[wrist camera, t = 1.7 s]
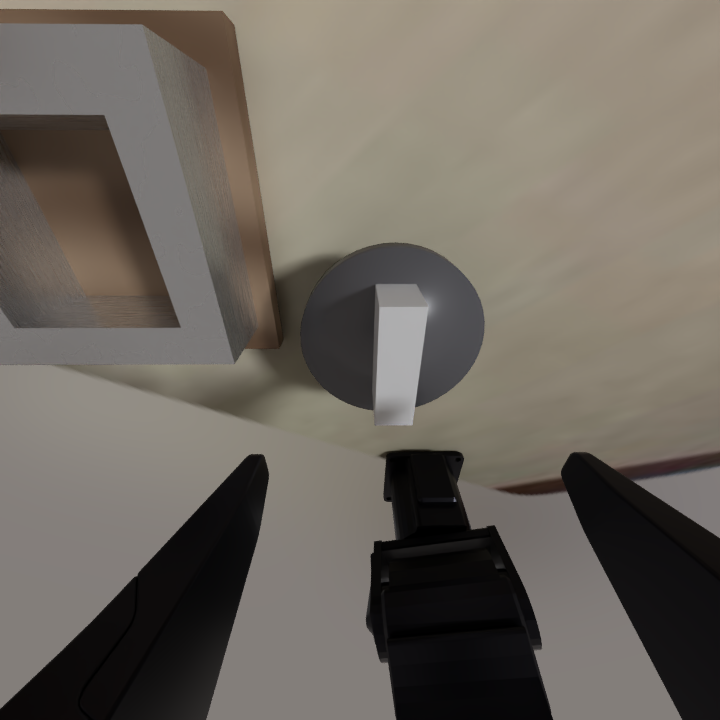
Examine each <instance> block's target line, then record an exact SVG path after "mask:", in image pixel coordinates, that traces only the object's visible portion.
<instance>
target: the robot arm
mask: <svg viewBox="0 0 720 720" xmlns="http://www.w3.org/2000/svg"><path fill="white" fill-rule="evenodd" d="M463 461H464V457H463V455H462V453H460V452H392V453H389V454H387V456H386V468H385V482H384V500H385V501H387V502H392V508H393V518H394V526H395V536H396V540H392V541H385V542H382V541H375V542H374V553H372V554H371V587H370V594H369V601H368V608H367V615H366V625H367V628H368V629H369V631H370V632H371V633H372V634H373V635H374V639H375V644H376V648H377V652H378V656H379V659H380V661H381V663H388V664H389V671H390V679H391V686H392V694H393V701H394V708H395V716H396V720H553V718H552V715H551V709H550V705H549V702H548V698H547V695H546V691H545V688H544V685H543V681H542V678H541V675H540V671H539V667H538V664H537V660H536V657H535V654H534V650H541V649H542V643H541V637H540V632H539V629H538V625H537V621H536V618H535V615H534V612H533V609H532V606H531V603H530V600H529V598H528V595H527V593H526V590H525V588H524V586H523V584H522V581H521V579H520V577H519V575H518V573H517V571H516V569H515V567H514V565H513V563H512V560H511V558H510V556H509V554H508V552H507V550H506V548H505V546H504V544H503V542H502V540H501V538H500V536H499V534H498V531H497V529H496V527H495V526H494V525H493V526H487V527H486V528H482V529H475V530H472V529H471V526H470V523H469V520H468V517H467V514H466V511H465V507H464V505H463V502H462V498H461V495H460V492H459V489H458V486H457V482H458V478H459V475H460V471H461V468H462V464H463ZM561 476H562V479H563V482H564V484H565V487H566V489H567V492H568V494H569V496H570V499H571V501H572V503H573V506H574V509H575V511H576V513H577V516H578V518H579V521H580V523H581V525H582V528H583V530H584V532H585V534H586V536H587V538H588V540H589V542H590V544H591V546H592V548H593V550H594V552H595V553H596V555H597V557H598V559H599V561H600V563H601V565H602V567H603V569H604V571H605V573H606V575H607V576H608V578H609V580H610V582H611V584H612V586H613V588H614V590H615V592H616V593H617V595H618V597H619V599H620V601H621V603H622V605H623V607H624V609H625V611H626V613H627V615H628V616H629V619H630V620H631V622H632V624H633V626H634V628H635V630H636V632H637V634H638V636H639V638H640V639H641V641H642V643H643V645H644V647H645V649H646V651H647V653H648V655H649V656H650V659H651V661H652V662H653V664H654V666H655V668H656V670H657V672H658V674H659V676H660V678H661V680H662V682H663V684H664V685H665V687H666V689H667V691H668V693H669V695H670V697H671V699H672V701H673V702H674V705H675V706H676V708H677V710H678V712H679V714H680V716H681V718H682V720H720V538H719V537H717V536H716V535H714V534H713V533H711V532H709V531H708V530H706V529H705V528H703V527H702V526H700V525H699V524H697V523H696V522H694V521H693V520H691V519H690V518H688V517H687V516H685V515H683V514H682V513H680V512H679V511H677V510H676V509H674V508H673V507H671V506H670V505H668V504H667V503H665V502H663V501H662V500H660V499H659V498H657V497H656V496H654V495H653V494H651V493H649V492H648V491H647V490H645V489H644V488H642V487H641V486H639V485H637V484H636V483H634V482H633V481H631V480H630V479H628V478H627V477H625V476H624V475H622V474H621V473H619V472H618V471H616V470H615V469H613V468H611V467H610V466H608V465H607V464H605V463H604V462H602V461H601V460H599V459H598V458H596V457H595V456H593V455H591V454H590V453H587V452H573V453H571V454H570V456H569V457H568V459H567V461H566V463H565V464H564V466H563V468H562V470H561ZM268 480H269V472H268V468H267V464H266V460H265V457H264V455H262V454H251V455H249V456H247V457H246V458H245V459H244V460H243V461H242V462H241V464H240V465H239V466H238V467H237V468H236V469H235V470H234V471H233V472H232V473H231V474H230V476H228V477H227V479H226V480H225V481H224V482H223V483H222V484H221V485H220V486H219V487H218V488H217V489H216V490H215V491H214V493H213V494H212V495H211V496H210V497H209V498H208V499H207V500H206V501H205V502H204V503H203V504H202V505H201V506H200V507H199V509H198V510H197V511H196V512H195V513H194V514H193V515H192V516H191V517H190V518H189V519H188V521H186V522H185V524H184V525H183V526H182V527H181V528H180V529H179V530H178V531H177V532H176V533H175V534H174V535H173V536H172V537H171V538H170V540H169V541H168V542H167V543H166V544H165V545H164V546H163V547H162V548H161V549H160V550H159V551H158V552H157V553H156V555H155V556H154V557H153V558H152V559H151V560H150V561H149V562H148V563H147V564H146V565H145V566H144V567H143V568H142V569H141V571H140V572H139V573H138V576H136V577H134V578H133V579H132V580H131V581H130V582H129V583H128V584H127V585H126V586H125V587H124V589H123V590H122V591H121V592H120V593H119V594H118V595H117V596H116V597H115V598H114V599H113V600H112V601H111V602H110V603H109V604H108V605H107V606H106V607H105V608H104V610H102V612H101V613H100V614H99V615H98V616H97V617H96V618H95V619H94V620H93V621H92V622H91V623H90V624H89V625H88V626H87V627H86V628H85V629H84V630H83V631H82V632H80V633H79V634H78V635H77V636H76V637H75V638H74V639H73V640H72V641H71V642H70V643H69V644H68V645H67V646H66V647H65V648H64V649H63V650H62V651H61V652H60V653H59V654H58V655H57V656H56V657H55V658H54V659H53V660H51V662H49V663H48V664H47V665H46V666H45V667H44V668H43V669H42V670H41V671H40V672H39V673H38V674H37V675H36V676H35V677H33V678H32V679H31V680H30V682H28V683H27V684H26V685H25V686H24V687H23V688H22V689H21V690H20V691H19V692H18V693H17V694H16V695H15V696H14V697H12V698H11V699H10V700H9V701H8V702H7V703H6V704H5V705H4V706H3V707H2V708H1V709H0V720H206V718H207V715H208V711H209V708H210V704H211V701H212V697H213V694H214V690H215V687H216V683H217V680H218V676H219V673H220V669H221V666H222V662H223V658H224V655H225V652H226V648H227V645H228V641H229V638H230V634H231V631H232V627H233V624H234V620H235V617H236V613H237V610H238V606H239V602H240V599H241V596H242V592H243V589H244V585H245V582H246V578H247V574H248V571H249V568H250V564H251V560H252V557H253V554H254V550H255V547H256V543H257V539H258V535H259V530H260V526H261V520H262V514H263V509H264V503H265V497H266V491H267V486H268Z"/></svg>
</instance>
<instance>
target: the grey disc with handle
mask: <svg viewBox="0 0 720 720" xmlns="http://www.w3.org/2000/svg"><path fill="white" fill-rule="evenodd" d="M300 336H301V347H302V352H303V356H304V358H305V361H306V364H307V366H308V368H309V370H310V372H311V373H312V375H313V376H314V377H315V379H316V380H317V381H318V382H319V383H320V384H321V386H322V387H323V388H324V389H326V390H327V391H328V392H329V393H330V394H332V395H333V396H335V397H337V398H338V399H340V400H342V401H344V402H346V403H348V404H350V405H353V406H356V407H359V408H363V409H367V410H374V423H375V425H413V417H414V410H415V407H418V406H421V405H423V404H426V403H429V402H431V401H433V400H435V399H437V398H439V397H440V396H442V395H443V394H445V393H447V392H448V391H449V390H450V389H452V388H453V387H454V386H455V385H456V384H457V383H459V382H460V381H461V380H462V379H463V377H464V376H465V375H466V374H467V373H468V371H469V370H470V368H471V367H472V365H473V364H474V362H475V360H476V358H477V356H478V354H479V351H480V348H481V345H482V341H483V336H484V313H483V308H482V305H481V301H480V299H479V297H478V294H477V292H476V290H475V288H474V287H473V286H472V284H471V283H470V281H469V280H468V279H467V278H466V277H465V275H464V274H463V273H462V272H461V271H460V270H459V269H458V268H457V267H456V266H454V265H453V264H452V263H451V262H450V261H448V260H447V259H446V258H445V257H443V256H441V255H440V254H438V253H436V252H434V251H432V250H430V249H427V248H424V247H422V246H418V245H413V244H408V243H382V244H377V245H372V246H368V247H365V248H362V249H360V250H357V251H355V252H353V253H351V254H349V255H347V256H345V257H344V258H342V259H341V260H339V261H338V262H337V263H335V264H334V265H333V266H332V267H331V268H330V269H329V270H328V271H327V272H326V273H325V274H324V275H323V276H322V277H321V279H320V280H319V281H318V283H317V284H316V286H315V288H314V289H313V291H312V293H311V296H310V298H309V300H308V303H307V305H306V308H305V311H304V315H303V318H302V322H301V332H300Z"/></svg>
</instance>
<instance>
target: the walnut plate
mask: <svg viewBox="0 0 720 720" xmlns="http://www.w3.org/2000/svg"><path fill="white" fill-rule="evenodd" d="M0 23H19V24H142V25H144V26H145V27H147V28H148V29H150V30H151V31H152V32H154V33H155V34H157V35H158V36H160V37H161V38H163V39H164V40H166V41H167V42H168V43H170V44H171V45H173V46H174V47H176V48H177V49H179V50H180V51H181V52H183V53H184V54H186V55H187V56H189V57H190V58H192V59H193V60H195V61H196V62H197V63H199V64H200V65H202V66H203V67H205V68H206V71H207V76H208V80H209V85H210V90H211V95H212V100H213V105H214V110H215V115H216V120H217V125H218V130H219V135H220V139H221V144H222V149H223V154H224V159H225V164H226V169H227V174H228V179H229V184H230V189H231V194H232V199H233V203H234V208H235V213H236V218H237V223H238V228H239V233H240V238H241V243H242V248H243V253H244V258H245V263H246V267H247V272H248V277H249V282H250V287H251V292H252V297H253V302H254V307H255V312H256V317H257V322H258V328H257V330H256V331H255V333H254V334H253V336H252V338H251V339H250V341H249V342H248V344H247V345H246V347H245V349H279V348H280V346H281V344H282V341H283V333H282V327H281V321H280V314H279V308H278V302H277V295H276V289H275V282H274V276H273V270H272V263H271V257H270V251H269V244H268V238H267V231H266V225H265V219H264V212H263V206H262V199H261V193H260V187H259V180H258V174H257V168H256V161H255V155H254V148H253V142H252V136H251V129H250V123H249V117H248V110H247V104H246V97H245V91H244V85H243V78H242V72H241V65H240V59H239V53H238V46H237V40H236V34H235V27H234V24H233V23H232V22H231V21H230V19H229V18H228V17H227V16H226V15H225V13H224V12H223V11H169V10H47V9H0ZM0 132H1V134H2V136H3V137H4V139H5V141H6V143H7V145H8V147H9V149H10V151H11V153H12V155H13V157H14V159H15V161H16V162H17V164H18V166H19V168H20V170H21V172H22V174H23V176H24V178H25V180H26V182H27V184H28V186H29V187H30V189H31V191H32V193H33V195H34V197H35V199H36V201H37V203H38V205H39V207H40V209H41V210H42V212H43V214H44V216H45V218H46V220H47V222H48V224H49V226H50V228H51V230H52V232H53V234H54V235H55V237H56V239H57V241H58V243H59V245H60V247H61V249H62V251H63V253H64V255H65V257H66V258H67V260H68V262H69V264H70V266H71V268H72V270H73V272H74V274H75V276H76V278H77V280H78V282H79V283H80V285H81V287H82V289H83V291H84V293H85V295H86V296H169V293H168V290H167V287H166V285H165V282H164V279H163V276H162V274H161V271H160V268H159V265H158V262H157V260H156V257H155V254H154V251H153V249H152V246H151V243H150V240H149V238H148V235H147V232H146V229H145V226H144V224H143V221H142V218H141V215H140V213H139V210H138V207H137V204H136V202H135V199H134V196H133V193H132V190H131V188H130V185H129V182H128V179H127V177H126V174H125V171H124V168H123V166H122V163H121V160H120V157H119V154H118V152H117V149H116V146H115V143H114V141H113V138H112V135H111V132H110V130H0Z"/></svg>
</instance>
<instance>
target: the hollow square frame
mask: <svg viewBox="0 0 720 720" xmlns="http://www.w3.org/2000/svg"><path fill="white" fill-rule="evenodd" d="M0 130H110V132H111V135H112V138H113V141H114V143H115V146H116V149H117V152H118V154H119V157H120V160H121V163H122V166H123V168H124V171H125V174H126V177H127V179H128V182H129V185H130V188H131V190H132V193H133V196H134V199H135V202H136V204H137V207H138V210H139V213H140V215H141V218H142V221H143V224H144V226H145V229H146V232H147V235H148V238H149V240H150V243H151V246H152V249H153V251H154V254H155V257H156V260H157V262H158V265H159V268H160V271H161V274H162V276H163V279H164V282H165V285H166V287H167V290H168V293H169V296H86V295H85V293H84V291H83V289H82V287H81V285H80V283H79V282H78V280H77V278H76V276H75V274H74V272H73V270H72V268H71V266H70V264H69V262H68V260H67V258H66V257H65V255H64V253H63V251H62V249H61V247H60V245H59V243H58V241H57V239H56V237H55V235H54V234H53V232H52V230H51V228H50V226H49V224H48V222H47V220H46V218H45V216H44V214H43V212H42V210H41V209H40V207H39V205H38V203H37V201H36V199H35V197H34V195H33V193H32V191H31V189H30V187H29V186H28V184H27V182H26V180H25V178H24V176H23V174H22V172H21V170H20V168H19V166H18V164H17V162H16V161H15V159H14V157H13V155H12V153H11V151H10V149H9V147H8V145H7V143H6V141H5V139H4V137H3V136H2V134H1V132H0V365H108V364H235V363H236V361H237V360H238V358H239V356H240V355H241V353H242V352H243V350H244V349H245V347H246V345H247V344H248V342H249V341H250V339H251V338H252V336H253V334H254V333H255V331H256V330H257V328H258V322H257V317H256V312H255V307H254V302H253V297H252V292H251V287H250V282H249V277H248V272H247V267H246V263H245V258H244V253H243V248H242V243H241V238H240V233H239V228H238V223H237V218H236V213H235V208H234V203H233V199H232V194H231V189H230V184H229V179H228V174H227V169H226V164H225V159H224V154H223V149H222V144H221V139H220V135H219V130H218V125H217V120H216V115H215V110H214V105H213V100H212V95H211V90H210V85H209V80H208V76H207V71H206V68H205V67H203V66H202V65H200V64H199V63H197V62H196V61H195V60H193V59H192V58H190V57H189V56H187V55H186V54H184V53H183V52H181V51H180V50H179V49H177V48H176V47H174V46H173V45H171V44H170V43H168V42H167V41H166V40H164V39H163V38H161V37H160V36H158V35H157V34H155V33H154V32H152V31H151V30H150V29H148V28H147V27H145V26H144V25H142V24H19V23H0Z"/></svg>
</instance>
